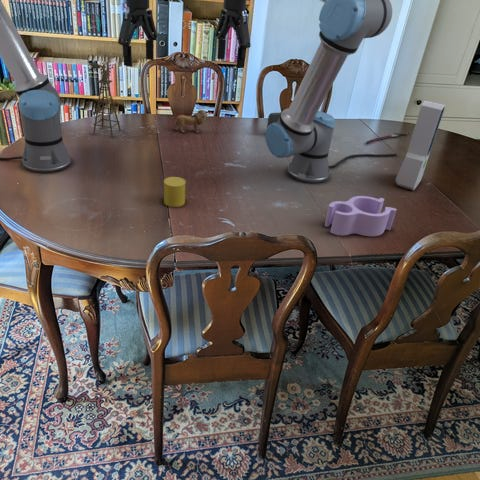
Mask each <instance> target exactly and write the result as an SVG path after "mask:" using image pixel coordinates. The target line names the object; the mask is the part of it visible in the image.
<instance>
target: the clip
mask: <svg viewBox="0 0 480 480" xmlns="http://www.w3.org/2000/svg"><path fill="white" fill-rule="evenodd" d="M384 201H385V198H383V197H379V198H376V197H373V196H368V195H357V196H352V197H350V198H349V200H347V201H339V200H338V201H337V200H335V201H332V202H330V203H329V205H328V208H327V214H326V218H325V222H324V227H326V228H329V227H330V226H331V227H330V233H331V234H333V235H336V236H348V235H353V234H356V235H360V236H364V237H365V236H366V237H378V236H381V235H382V234H384V232H385V230H387V231H391V229H392V226H393V222H394V219H395V216H396V213H397V210H398V209H397V208H395V207H391V206H385V207H384V211H383V212H382V209H383V206H384Z"/></svg>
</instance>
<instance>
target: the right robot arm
mask: <svg viewBox="0 0 480 480" xmlns="http://www.w3.org/2000/svg"><path fill="white" fill-rule="evenodd" d="M319 1H320V2H322V3H323V5H322V6H321V9H320V12H319V16H318V21H319V23H318V26H319V33H318V37H319V40H320V43H319V45H318V47H317V48H316V51H315V53H314V55H313V58H312V59H311V61H310V64H309V66H308V68H307V70H306V72H305V74H304V76H303V79H302V80H301V83H300V85H299V86H298V89H297V91H296V93H295V95H294V97H293V99H292V102H291V103H290V105H289V107H288V108H285V109H283V110H282V111H281V112H282V113H281V115H280V117H279V119H278V121H277V122H276V123H272V124H270V125H269V126H268V127H267V126H266V129H265V133H264V137H265V138H264V139H265V143H266V146H267V148H268V150H269V152H270V153H271V154H272V155H273V156H274V157H276V158H277V159H284V158H290V157H292V159H291V160H290V161H291V162H289V164H288V165H287V174H288V175H289V176H290V177H291V178H292V179H294V180H297V181H299V182H304V183H307V184H321V183H324V182H326V181H328V180H329V178H330V169H331V168H335V167H338V166H340V164H342V163H343V162H345V161H346V160H348V159H350V158H355V157H394V156H395V157H397V155H398V154H397V153H381V154H380V153H379V154H377V153H375V154H374V153H361V154H351V155H347V156H345V157H344V158H343V159H341V160H340V161H338V162H337V163H335V164H332V165H329V153H330V147H331V144H332V138H333V134H334V130H335V123H336V119H335V118H334V116H333V115H331V114H329V113H327V112H323V111H320V108H321V106H322V104H323V103H324V101H325V99H326V97H327V95H328V94H329V91H330V90H331V88H332V86H333V84H334V82H335V80H336V79H337V77H338V74H339V73H340V71H341V69H342V68H343V65H344V64H345V62H346V60H347V58H348V56H350V55H354V54H355V53H357V51H358V49H359V47H360V46H361V44H362V42H363V40H364V39H371V38H375V37H377V36H380V35H381V34H382V33H384V32H385V31H386V30H387V29H388V27H389V26H390V23H391V21H392V18H393V6H392V3H391V1H390V0H319ZM222 7H223V9H221V10H220V15H219V19H218V21H217V26H216V29H215V32H214V36H215V37H216V39H217V55H216V59H217V60H225V59H226V58H225V57H226V43H227V35H228V33H229V31H230V30H231V28H232V30H234V32H235V35H236V39H237V43H238V47H237V56H236V69H244V68H245V62H246V57H247V55H246V54H247V49H249V48H251V47H252V44H251V38H250V31H249V23H248V22H249V17H248V15H243V12H245V11H246V8H247V0H223V6H222Z"/></svg>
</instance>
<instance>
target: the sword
mask: <svg viewBox="0 0 480 480" xmlns="http://www.w3.org/2000/svg"><path fill="white" fill-rule="evenodd" d="M402 133H403V132H400V133H397V132H395V133H393V134H389V135H384V136H381V137H375V138H373V139H369V140H367V141H366V142H365V145H368V144H371V143H374V142H377V141H381V140H385V139H389V138H394V137H400V136H403V135H404V136H405V134H402ZM409 134H410V132H408V134H407V135H409Z"/></svg>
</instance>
